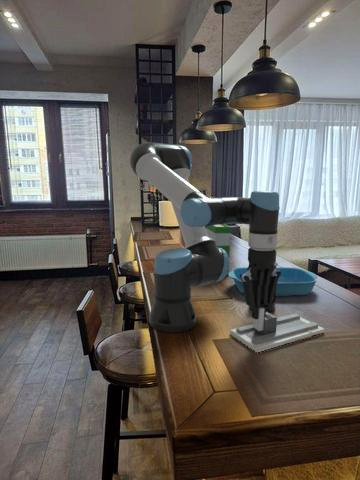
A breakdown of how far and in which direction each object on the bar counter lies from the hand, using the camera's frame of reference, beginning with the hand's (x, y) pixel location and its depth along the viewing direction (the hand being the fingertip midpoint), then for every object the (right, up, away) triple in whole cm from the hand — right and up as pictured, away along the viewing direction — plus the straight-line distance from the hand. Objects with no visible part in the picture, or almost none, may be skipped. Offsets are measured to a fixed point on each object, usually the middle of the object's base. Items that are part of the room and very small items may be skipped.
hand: (258, 328), depth 91 cm
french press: (+7, 0, +24) cm, 25 cm away
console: (+7, -3, +5) cm, 9 cm away
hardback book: (-4, +9, +71) cm, 72 cm away
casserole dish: (+17, +4, +45) cm, 48 cm away
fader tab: (+2, -1, +2) cm, 3 cm away
